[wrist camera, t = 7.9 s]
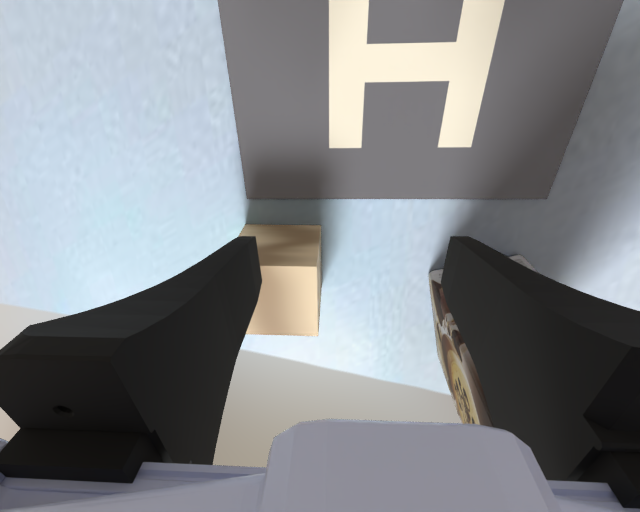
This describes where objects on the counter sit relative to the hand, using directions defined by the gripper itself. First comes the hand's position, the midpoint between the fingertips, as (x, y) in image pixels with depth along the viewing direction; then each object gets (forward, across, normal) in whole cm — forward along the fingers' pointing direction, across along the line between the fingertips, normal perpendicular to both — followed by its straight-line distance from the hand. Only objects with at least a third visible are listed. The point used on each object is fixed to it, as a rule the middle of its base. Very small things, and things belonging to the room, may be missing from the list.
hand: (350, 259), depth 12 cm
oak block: (+8, +4, +5) cm, 11 cm away
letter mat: (+8, -3, -6) cm, 11 cm away
